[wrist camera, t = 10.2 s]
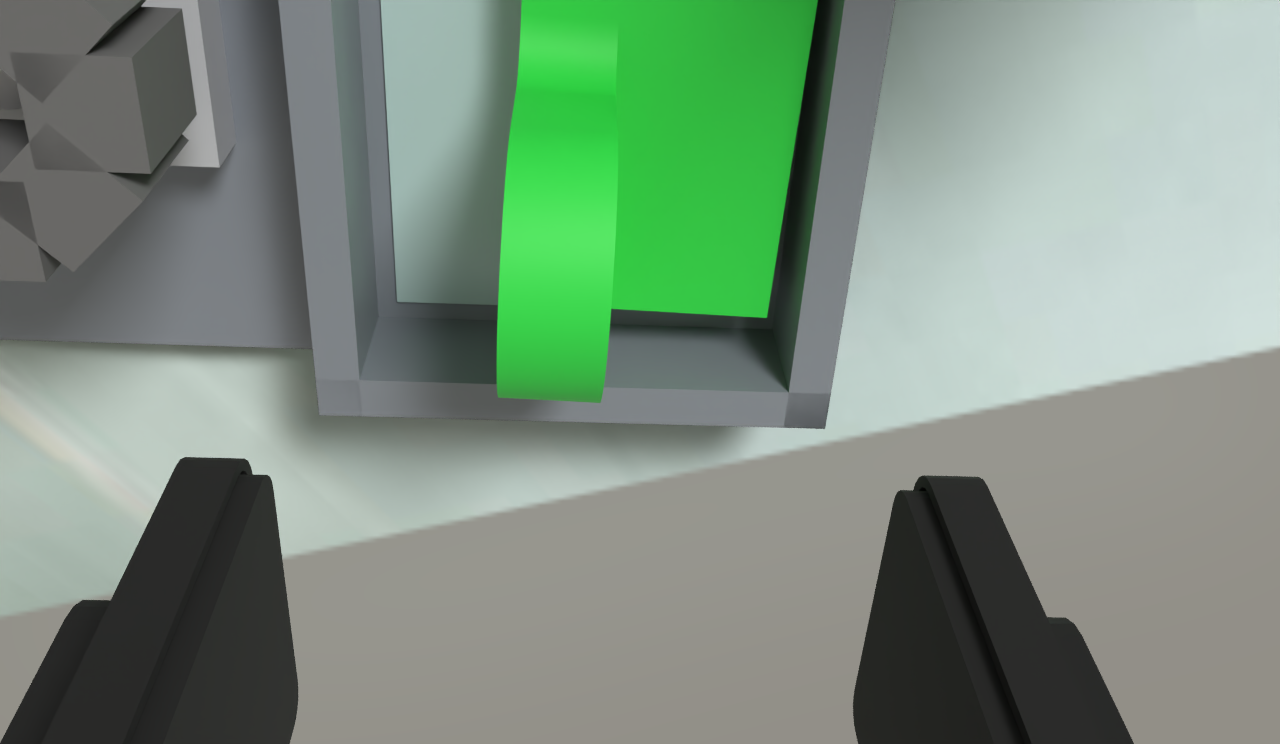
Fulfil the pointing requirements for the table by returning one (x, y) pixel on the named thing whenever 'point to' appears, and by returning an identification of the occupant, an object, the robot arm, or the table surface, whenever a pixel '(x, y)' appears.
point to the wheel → (85, 123)
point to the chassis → (437, 221)
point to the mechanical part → (641, 174)
